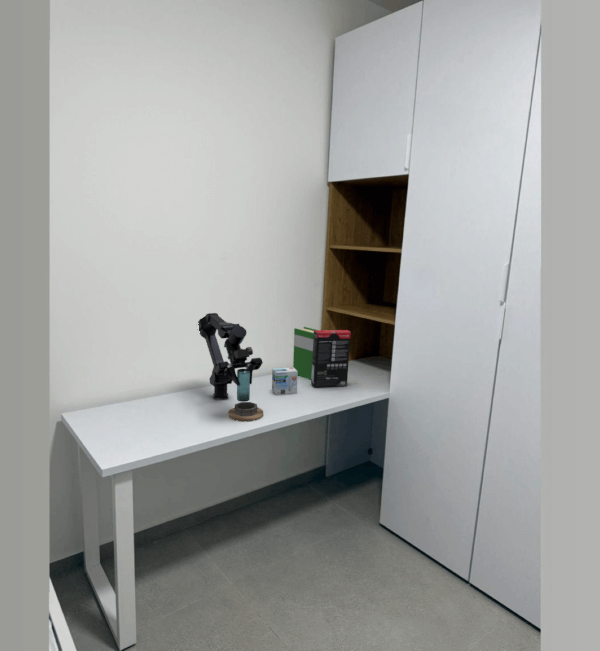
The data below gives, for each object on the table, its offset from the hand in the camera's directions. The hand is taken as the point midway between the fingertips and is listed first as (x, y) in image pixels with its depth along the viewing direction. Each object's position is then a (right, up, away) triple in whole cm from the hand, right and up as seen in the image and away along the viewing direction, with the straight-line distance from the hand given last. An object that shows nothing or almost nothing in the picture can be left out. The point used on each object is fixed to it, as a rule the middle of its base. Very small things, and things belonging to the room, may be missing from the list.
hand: (244, 384), depth 198 cm
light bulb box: (+15, -8, +34) cm, 38 cm away
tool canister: (-1, -6, +2) cm, 7 cm away
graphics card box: (+36, -6, +45) cm, 58 cm away
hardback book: (+27, -3, +59) cm, 65 cm away
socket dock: (0, -13, +5) cm, 14 cm away
